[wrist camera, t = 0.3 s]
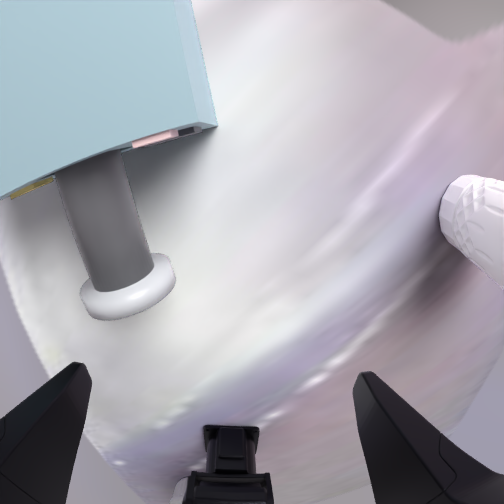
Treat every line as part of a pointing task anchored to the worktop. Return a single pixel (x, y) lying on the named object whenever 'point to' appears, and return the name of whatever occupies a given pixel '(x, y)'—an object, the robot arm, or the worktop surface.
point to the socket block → (94, 82)
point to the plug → (111, 239)
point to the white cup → (476, 222)
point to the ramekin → (179, 492)
